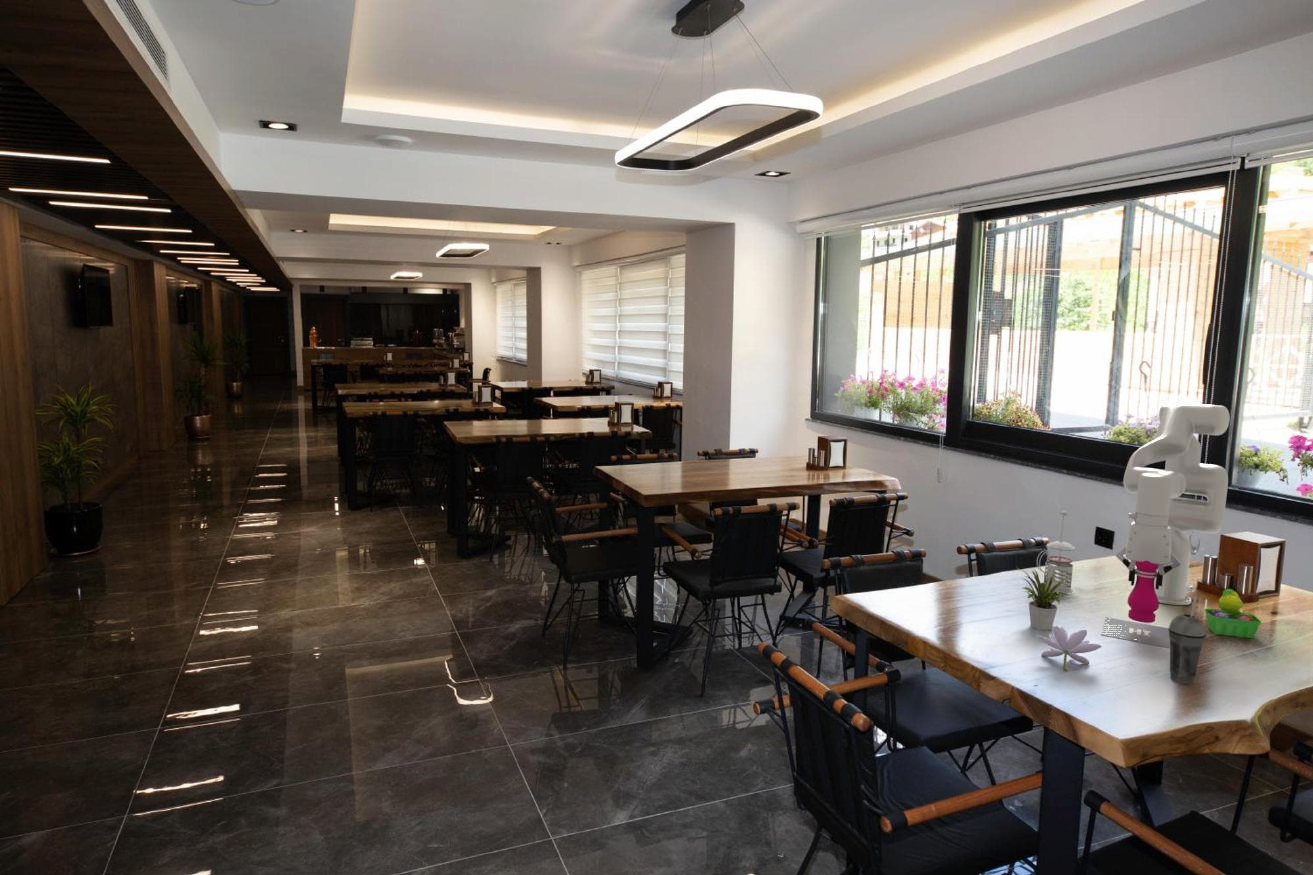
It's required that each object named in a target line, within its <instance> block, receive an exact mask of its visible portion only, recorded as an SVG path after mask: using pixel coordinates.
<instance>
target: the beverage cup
mask: <svg viewBox="0 0 1313 875" xmlns="http://www.w3.org/2000/svg"><path fill="white" fill-rule="evenodd" d="M1197 598H1198V596H1195V595H1194V596H1193V602H1192V606H1191V610H1190V614H1187V613H1185V614H1179V615H1177V616H1176V617H1175V616H1174V618H1172V620H1171V621H1170V623H1169V626H1168V628H1169V629H1168V630H1169V638H1170V648H1169V678H1170V680H1171V681H1173V682H1175V683H1178V684H1182V685H1193V684H1194V681H1195V679H1196V678H1195V677H1196V674H1197V670H1198V665H1199V661H1200V656H1201V653H1202V648H1203V647H1202V646H1203V645H1204V643H1205V639H1206V637H1207V634H1206V628H1205V626H1204V623H1203V622H1202V621H1201V620H1200V619H1199V618H1198V617H1196V616H1195V615H1194V613H1195V608H1196V604H1197Z"/></svg>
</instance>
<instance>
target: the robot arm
mask: <svg viewBox="0 0 1313 875" xmlns="http://www.w3.org/2000/svg"><path fill="white" fill-rule="evenodd" d="M1158 417H1159V419H1158V420H1159V424H1158V428H1157V430H1156V434H1155V437H1154V439H1153V440H1151V441H1150V442H1147V443H1145V444H1144V445H1142V446H1141V447H1139V448H1138V449H1137V450H1135V451H1134V452H1133V453H1132V455H1131V456H1130V457H1129V460H1128V462H1127V466H1126V469H1125V472H1124V475H1123V480H1122V481H1123V487H1124V489H1125V490H1126V491H1127V492H1128V493H1129V494H1135V495H1136V504H1135V511H1134V512H1132V513H1131V512H1129V513H1128V519H1132V520H1134V521H1131V523H1130V525H1129V529H1128V534H1127V538H1126V545H1125V546H1124V547H1122V548H1121V549H1120V550H1119V551H1117V552H1116V553H1115V557H1116V558H1117V559H1118V560H1119V561H1120V562H1121V563H1122V564H1123V565H1124V566H1125V567H1126V568H1127V569H1128V581H1127V582H1130V586H1133V587H1134V586H1135V583H1136V579H1135V578H1136V574H1135V572H1136V570H1135V569H1136V564H1135V561H1136V562H1143V561H1149V562H1151V563H1153V564H1156V565H1159V566H1158V569H1157V570H1156V571H1157V577H1155V580H1154V589H1155V593H1156V595H1157V598H1158V601H1159V603H1160V604H1165V605H1172V606H1187V605H1190V604H1192V598H1191V597H1190V596H1189V595H1188V594H1189V593H1194V592H1196V589H1197V588H1196V586H1194V585H1188V578H1189V570H1190V561H1191V560H1190V559H1191V553H1192V552H1191V551H1192V545H1191V541H1190V540H1189V538H1188V536H1187V535H1186V534H1185V532H1186V531H1187V532H1195V533H1201V534H1211V535H1213V534H1218V533H1219V532H1220V531H1221V530H1222V528H1223V525H1224V519H1225V512H1226V504H1227V503H1226V502H1227V496H1228V495H1227V494H1228V487H1229V486H1228V485H1229V476H1228V472H1227V470H1226V469H1225V468H1224V467H1223V466H1222V465H1221V466H1220V465H1218V464H1211V463H1209V464H1208V463H1201V454H1202V446H1201V443H1200V441H1199V439H1198V438H1197V437H1196V436H1195V435H1207V436H1221V435H1223V434H1224V433H1226V432H1227V429H1228V428H1229V425H1230V421H1231V420H1230V411H1229V410H1228V408H1227V407H1226V406H1224V405H1217V404H1216V405H1215V404H1206V403H1205V404H1204V403H1203V404H1201V403H1200V404H1199V403H1189V402H1188V403H1187V402H1186V403H1185V402H1171V403H1166V404H1163V405H1162V406H1161V407H1160V409H1159V412H1158ZM1194 434H1195V435H1194ZM1164 461H1165V467H1164V469H1160V468H1153V467H1147V466H1149V465H1151V464H1155V463H1161V462H1164ZM1182 494H1185V495H1194V496H1203V497H1205V498H1206V499H1207V500H1203V499H1202V500H1201V499H1194V498H1187V497H1181V496H1182ZM1184 531H1185V532H1184Z"/></svg>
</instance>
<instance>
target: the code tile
mask: <svg viewBox="0 0 1313 875" xmlns="http://www.w3.org/2000/svg"><path fill="white" fill-rule="evenodd" d="M1106 618H1107V619H1106ZM1109 618H1111V619H1109ZM1107 620H1110V621H1107ZM1104 622H1107V623H1103V627H1108V626H1104V624H1105V625H1106V624H1109V625H1117V626H1110V627H1116V628H1109V629H1117V630H1109V631H1117V632H1107V633H1113V634H1106V635H1111V636H1110V637H1109V638H1114V637H1115V638H1114V639H1121V640H1125V639H1126V641H1131V642H1135V641H1136V642H1135V643H1141V644H1145V643H1146V644H1147V645H1151V646H1155V647H1161V646H1162V648H1167V649H1170V638H1169V630H1168V629H1169V627H1161V626H1157V625H1151V624H1147V623H1143V622H1137V621H1130V620H1125V619H1119V618H1112V617H1108V616H1105V620H1104ZM1118 625H1122V626H1118ZM1125 625H1126V626H1125ZM1103 627H1102V630H1103V629H1108V628H1103ZM1117 627H1120V628H1117ZM1121 627H1122V628H1121ZM1118 629H1119V630H1118ZM1120 629H1122V630H1120ZM1103 631H1106V630H1103ZM1107 631H1108V630H1107ZM1118 631H1121V632H1118ZM1125 631H1126V632H1125ZM1102 633H1106V632H1102V631H1101V634H1100V635H1101V636H1104V635H1105V634H1102ZM1114 633H1115V634H1114ZM1116 633H1120V634H1116ZM1112 635H1113V636H1112ZM1114 635H1115V636H1114ZM1116 635H1117V636H1116ZM1121 635H1122V636H1121ZM1123 635H1124V636H1123ZM1120 637H1121V638H1120ZM1134 639H1137V640H1134ZM1139 641H1140V642H1139ZM1146 644H1145V645H1146Z"/></svg>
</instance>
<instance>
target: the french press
mask: <svg viewBox="0 0 1313 875" xmlns="http://www.w3.org/2000/svg"><path fill="white" fill-rule="evenodd" d="M1060 515H1061V516H1062V520H1064V517H1066V516H1068V513H1067V511H1065V510H1063V511H1060ZM1063 529H1064V522H1062V524H1061V531H1063ZM1046 547H1047V548H1048V549H1050V550H1056V551H1059V553H1061V551H1062V552H1072V551H1075V550H1076V547H1075V546H1073V544H1071V543H1069V542H1066V541H1063V533H1061V535H1060V540H1056V541H1052V542H1049V543H1047V544H1046ZM1048 549H1044V550H1042V551H1040V553H1039V554H1038V556H1037V557H1036V567H1037V569H1038V570H1039V571H1040V572H1041V573H1043V582H1044V581H1045V577H1046V574H1047V572H1048V571H1049V572H1048V574H1047V577H1046V581H1047V580H1048V579H1049V580H1048V581H1047V584H1046V586H1048V584H1049V581H1050V577H1051V576H1052V574H1053V575H1054V576H1053V582H1052V584H1051V587H1050V590H1051V589H1052V588H1053V587H1054V586H1055V585H1056V584H1057V583H1059V582H1060V581H1061V580H1063V579H1065V578H1069V577H1071V578H1069V579H1067V580H1065V581H1064V582H1063V583H1062V584H1061V585H1059V586H1058V587H1057V588H1056V589H1055V590H1054V592H1063V593H1071V594H1073V593H1072V592H1073V591H1074V592H1075V590H1074V589H1073V588H1072V580H1073V568H1074V564H1072V562H1073V560H1072V559H1071V558H1069V557H1064V556H1061V555H1058V556H1057V555H1051V553H1050V551H1049V550H1048ZM1042 553H1043V554H1042ZM1041 554H1042V555H1041ZM1045 554H1046V556H1047V557H1046V559H1047V560H1046V561H1045V564H1044V566H1045V567H1044V571H1043V569H1042V568H1041V559H1042V558H1043V556H1044V555H1045ZM1039 557H1040V558H1039ZM1051 564H1052V565H1051ZM1046 581H1045V583H1046ZM1050 590H1049V591H1050Z"/></svg>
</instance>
